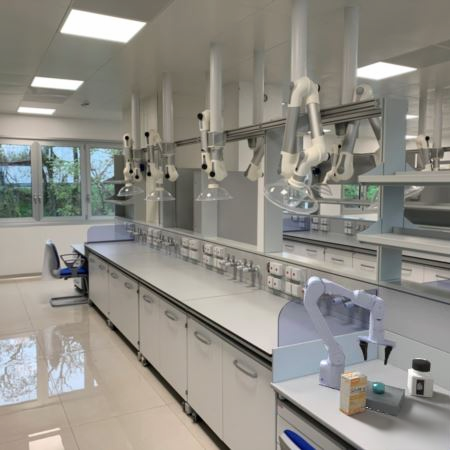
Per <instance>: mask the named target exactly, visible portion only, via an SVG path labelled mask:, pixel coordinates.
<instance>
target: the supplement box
mask: <svg viewBox="0 0 450 450" xmlns="http://www.w3.org/2000/svg"><path fill="white" fill-rule="evenodd" d="M367 381H368V375H367V374H365V373H364V372H361V371H359V370H357V371H353V372H348V373H344V374H341V388H340V389H339V411H340V412H342V413H344V414H345V415H346V416H350V415H354V414H357V413H362V412H365V411H366V408H365V405H366V389H367Z"/></svg>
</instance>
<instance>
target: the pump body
mask: <svg viewBox="0 0 450 450" xmlns="http://www.w3.org/2000/svg"><path fill="white" fill-rule="evenodd" d="M373 382H374V381H371V380H367V389H366V405H365V407H368V408H371V409H370V410H372V409H375V410H379V411H382V412H381V413H383V412H385V413H384V414H386V413H388V414H387V415H390V414H391V415H392V416H395V417H397V416H398V413H399V412H400V410H401V408H402V405H403V403H404V401H405V398H406V397H405V396H406V389H404V388H399V387H396V386H392V385H387V384H385V393H382V394H379V393H375V392H373V391H372V384H373ZM368 408H367V409H368ZM375 410H374V411H375ZM379 411H378V412H379Z"/></svg>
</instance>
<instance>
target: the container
mask: <svg viewBox="0 0 450 450" xmlns="http://www.w3.org/2000/svg"><path fill="white" fill-rule="evenodd" d="M411 361H412V362H411V368H408V371H407V386H406V387H407V390H408V391H409V394H410V395H411V396H412V397H422V398H430V399H431V398H433V395H434V381H435V379H434V377H433V375H432V374H431V361H429V360H428V359H425V358H421V357H418V358H417V357H415V358H413V359H412V360H411Z"/></svg>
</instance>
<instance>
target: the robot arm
mask: <svg viewBox="0 0 450 450" xmlns="http://www.w3.org/2000/svg"><path fill="white" fill-rule="evenodd" d="M330 293H334V294H337V295H338V296H339V295H340V296H341V297H342V296H343V297H344V298H348V299H350V300H351V303H352V304H354V305H356V306H358V307H362V308H364V309H366V310H370V313H369V314H370V315H369V327H368V329H369V330H368V336H367V335H358V336H357V338H356V341H357V342H359V347H360V350H361V351H362V355H363V360H364V361H365V362H366V361H367V360H368V350H369V349H368V348H369V347H368V346H369V344H373V345H379V346H384V361H383V366H387V365H388V361H389V357H390V355H391V353H392V351H393V350H394V349H396V348H397V342H396V341H392V340H388V339H386V338H385V335H386V334H385V333H386V330H385V329H386V313H387V312H388V309H389V308H388V305H387V303H386V301H384V299H383V298H382V297H379V296H377V295H375V294H370V293H367V292H366V291H365V290H364V289H355V290H351V289H349V288H348V287H345V286H342V285H340V284H338V283H337V282H335V281H334V282H333V281H331V280H329V279H327V278H321V277H319V276H311V277H309V278H308V279H307V281H306V283H305V287H304V295H303V306H304V308H305V310H306V312H307V313H308V315H309V317H310V319H311V322H312V323H313V325H314V327H315V329H316V331H317V333H318V335H319V336H320V338H321V339H320V340H322V342H323V345H324V347H325V348H326V351H327V355H328V357H327V358H326V359H322V360H321V361H320V364H319V369H318V371H319V373H318V376H319V377H318V385H321V386H324V387H329V388H332V389H337V390H340V388H341V374H345V370H346V369H345V368H346V365H345V364H346V362H345V361H346V355H345V353H344V350H343V347H342V345H341V344H340V343H338V342H337V340H336V338H335V337H334V335H333V333H332V331H331V330H330V328H329V325H328V323H327V321H326V320H325V318H324V316H323V313H322V312H321V310H320V308H319V306H318V304H317V303H318V301H319V298H320V297H321V296H322V295H323V294H325V295H326V294H330Z"/></svg>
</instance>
